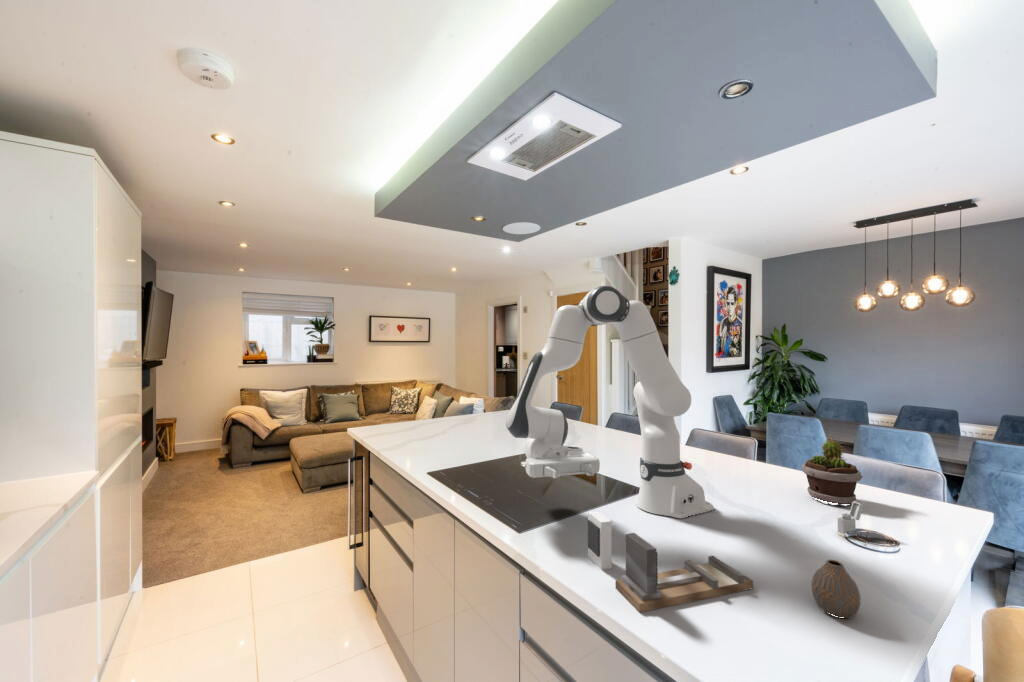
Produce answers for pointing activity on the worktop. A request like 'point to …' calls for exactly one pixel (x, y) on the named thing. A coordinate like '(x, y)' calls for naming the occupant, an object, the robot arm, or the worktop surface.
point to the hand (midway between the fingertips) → (574, 473)
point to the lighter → (850, 518)
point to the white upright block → (599, 540)
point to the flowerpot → (831, 475)
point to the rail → (673, 579)
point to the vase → (835, 590)
